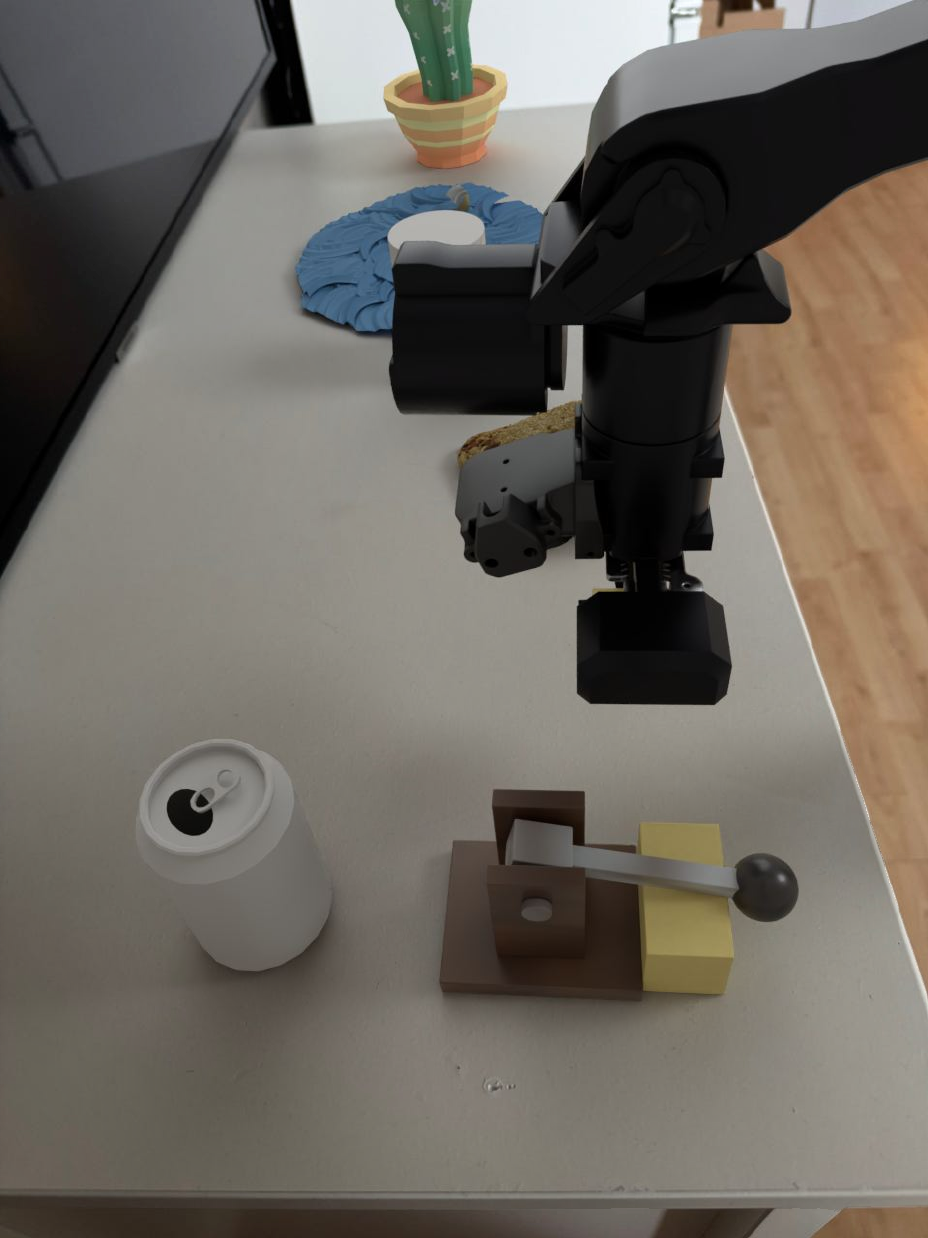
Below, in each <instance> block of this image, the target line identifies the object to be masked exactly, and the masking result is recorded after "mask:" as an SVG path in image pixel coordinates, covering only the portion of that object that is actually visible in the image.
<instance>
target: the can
mask: <svg viewBox="0 0 928 1238" xmlns="http://www.w3.org/2000/svg"><path fill="white" fill-rule="evenodd" d="M135 843H136V845H137V848H138V850H139V853H140V855H141V858H142V860H143V862H144V863H145V865H146V866H147V868H148V869H149V871H150V872H151V874H152V875H153V877H154V878H155V880H156V881H157V882H158V884H159V886H160V887H161V888H162V890H163V891H164V893H165V894H166V896H167V897H168V899H169V900H170V902H171V903H172V904H173V906H174V907H175V909H176V910H177V912H178V913H179V915H180V917H181V918H182V919H183V921H184V923H185V924H186V926H187V927H188V928H189V930H190V931H191V933H192V934H193V936H194V937H195V939H196V940H197V942H198V943H199V944H200V946H201V948H203V950H204V951H205V952H206V953H207V954H208V955H209V956H210V957H211V958H212V959H213V960H215V962H216V963H217V964H221V965H223V966H225V967H228V968H229V969H230V968H231V969H233V970H235V971H246V972H247V971H248V972H260V971H264V970H267V969H268V970H269V969H273V968H276V967H281V966H282V965H285V964H286V963H287V962H288V961H291V960H293V959H294V958H296V957H297V956H299V955H301V954H302V953H303V952H304V951H305V950H306V949H307V948H308V947H309V946H310V945H311V944H312V942H314V941H315V940H316V939H317V938H318V937H319V935H320V933H321V931H322V929H323V927H324V926H325V924H326V922H327V920H328V919H329V915H330V910H331V905H332V899H333V892H332V885H331V878H330V874H329V872H328V869H327V867H326V865H325V864H326V863H325V861H324V859H323V857H322V854H321V851H320V849H319V847H318V844H317V842H316V839H315V837H314V834H313V832H312V829H311V827H310V824H309V821H308V819H307V816H306V813H305V811H304V809H303V806H302V804H301V801H300V798H299V796H298V794H297V791H296V789H295V786H294V784H293V781H292V779H291V777H290V776H289V774H288V773H287V770H286V769H285V767H284V766H283V764H281V762H279V761H278V760H277V759H275V758H274V757H273V756H271V754H269V753H268V752H266V751H263V750H260V749H257V748H256V747H254V746H253V745H252V744H249V743H246V742H243V741H240V740H237V739H234V738H211V739H207V740H204V741H199V742H195V743H192V744H190V745H188V746H186V747H183V748H182V749H180V750H178V751H176V752H174V753H173V754H172V755H170V756H169V757H168V758H167V759H165V760H164V761H163V762H161V764H159V765H158V766H157V767H156V769H154V771H153V772H152V774H151V775H150V777H149V778H148V780H147V781H146V782H145V784H144V786H143V789H142V793H141V795H140V798H139V800H138V812H137V815H136V819H135Z"/></svg>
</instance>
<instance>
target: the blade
mask: <svg viewBox="0 0 928 1238" xmlns="http://www.w3.org/2000/svg"><path fill="white" fill-rule="evenodd" d="M505 865H522V866H555V867H585V869H586V877H588V878H595V879H602V880H609V881H617V882H624V883H631V884H638V885H645V886H652V887H659V888H666V889H673V890H680V891H687V892H694V893H701V894H708V895H715V896H722V897H727V898H728V899H729V898H730V899H731V900H732V902H733V905H735V907H736V909H738V910H739V912H740V913H741V914H742V915H744V916H745V917H747V918H749V919H750V920H753V921H756V922H760V923H773V922H777V921H781V920H782V919H784V918H786V917H787V916H789V914H791V912H792V911H793V909H795V907H796V905H797V902H798V900H799V892H800V888H799V882H798V879H797V876H796V873H795V872H794V870H793V869H792V868H791V866H790V865H789V864H788V863H787V862H786V861H784V860H783V859H782V858H780V857H779V856H776V855H773V854H771V853H767V852H758V853H752V854H748V855H747V856H744V857H742V858H741V859H740V860H739V861H737V863H736V864H735V865H734V867H729V866H724V867H723V866H716V865H709V864H702V863H695V862H688V861H681V860H674V859H667V858H660V857H653V856H646V855H639V854H637V853H636V854H632V853H625V852H618V851H611V850H604V849H598V848H591V847H584V846H577V845H573V828H572V827H569V826H562V825H555V824H548V823H541V822H535V821H528V820H521V819H515V820H514V823H513V826H512V829H511V832H510V834H509V837H508V840H507V843H506V858H505Z"/></svg>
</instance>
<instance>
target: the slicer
mask: <svg viewBox="0 0 928 1238" xmlns="http://www.w3.org/2000/svg"><path fill="white" fill-rule="evenodd" d="M491 798H492V799H491V811H492V818H493V819H492V820H493V827H494V835H495V840H470V839H469V840H467V839H466V840H465V839H453V841H452V848H451V856H450V857H451V858H450V868H449V878H448V889H447V898H446V909H445V918H444V928H443V929H444V931H443V940H442V941H443V942H442V949H441V960H440V971H439V980H438V982H439V986H440V990H441V992H442V993H463V994H484V995H502V996H503V995H505V996H523V997H524V996H529V997H549V998H568V999H569V998H570V999H592V1000H610V1001H611V1000H612V1001H613V1000H614V1001H634V1002H640V1001H641V1002H642V1001H643V995H644V991H643V981H642V960H641V939H640V917H639V896H638V884H631V883H624V882H617V881H609V880H602V879H595V878H588V877H586V869H585V867H555V866H522V865H505V858H506V843H507V840H508V837H509V834H510V832H511V829H512V826H513V823H514V820H515V819H521V820H528V821H535V822H541V823H548V824H555V825H562V826H569V827H572V828H573V845H577V846H584V847H591V848H598V849H604V850H611V851H618V852H625V853H632V854H637V846H636V844H615V843H614V844H612V843H611V844H609V843H585V841H586V791H584V790H559V789H557V790H555V789H551V790H550V789H516V788H515V789H513V788H508V789H507V788H493V789H492V797H491Z"/></svg>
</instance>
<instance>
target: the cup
mask: <svg viewBox="0 0 928 1238" xmlns="http://www.w3.org/2000/svg"><path fill="white" fill-rule="evenodd" d="M404 241H437V242H441V243H446V244H450V245H486V242H485V228H484V224H483V222H482V221H481V220H480V219H479V218H478V217H476V216H474V215H472V214H469V213H466V212H461V211H453V210H439V211H430V212H424V213H420V214H416V215H413V216H410V217H408V218H405V219H403V220H401V221H400V222H398V223H397V224H395V225H394V226H393V227H392V228H391V229H390V231H389V233H388V243H389V250H390V257H391V263H392V267H393V264H394V261H395V259H396V256H397V253H398V251H399V248H400V246H401V244H402V243H403V242H404Z"/></svg>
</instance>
